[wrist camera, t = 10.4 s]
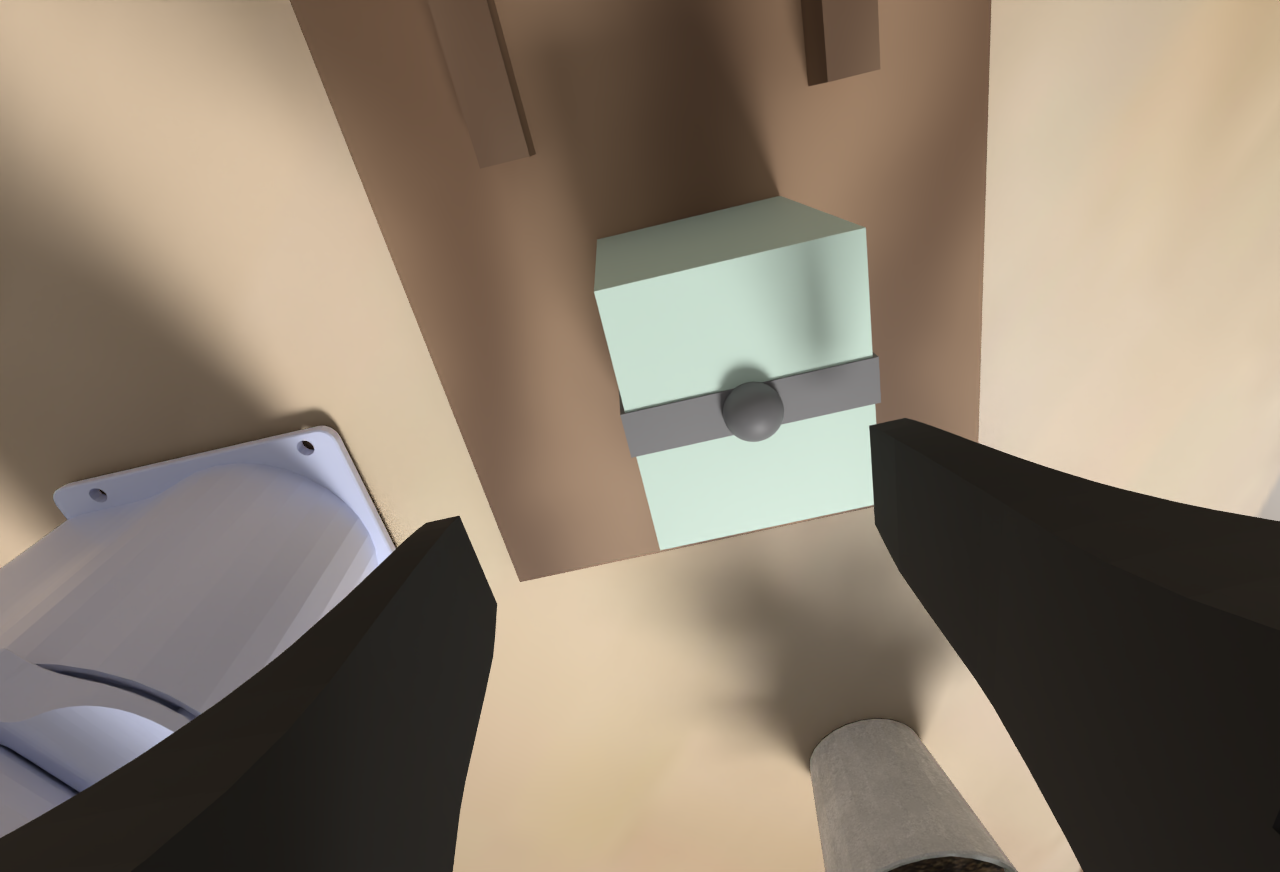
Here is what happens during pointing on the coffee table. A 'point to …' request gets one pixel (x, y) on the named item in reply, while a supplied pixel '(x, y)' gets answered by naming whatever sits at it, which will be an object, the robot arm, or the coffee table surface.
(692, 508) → the sage block
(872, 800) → the house plant
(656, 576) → the coffee table surface
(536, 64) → the shelf
